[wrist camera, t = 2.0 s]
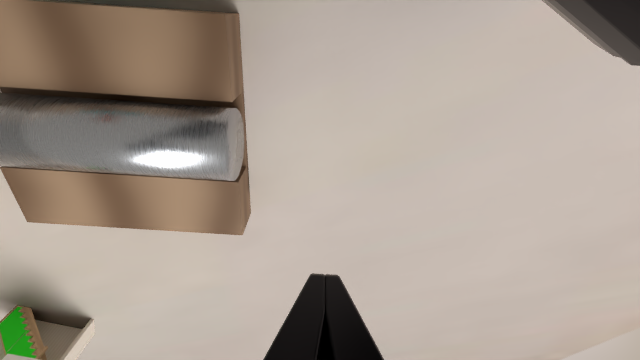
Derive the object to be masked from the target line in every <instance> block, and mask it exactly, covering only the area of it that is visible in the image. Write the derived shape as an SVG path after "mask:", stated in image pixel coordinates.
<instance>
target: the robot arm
mask: <svg viewBox="0 0 640 360" xmlns="http://www.w3.org/2000/svg"><path fill="white" fill-rule="evenodd" d="M542 1H543V2H545V3H546V4H547V5H548V6H549V7H551V8H552V9H553V10H554V11H555V12H557V13H558V14H559V15H560V16H561V17H563V18H564V19H565V20H566V21H567V22H569V23H570V24H571V25H572V26H573V27H575V28H576V29H577V30H578V31H579V32H581V33H582V34H583V35H584V36H585V37H587V38H588V39H589V40H590V41H591V42H593V43H594V44H595V45H597V46H599V47H600V48H602V49H603V50H605V51H606V52H608V53H609V54H611V55H613V56H616V57H620V58H622V59H623V60H625V61H626V62H627V63H628V64H630V65H638V66H640V0H542ZM263 360H384V359H383V357H382V355H381V353H380V351H379V349H378V347H377V346H376V344H375V342H374V340H373V338H372V336H371V334H370V333H369V331H368V329H367V327H366V325H365V323H364V321H363V320H362V318H361V316H360V314H359V312H358V310H357V308H356V306H355V305H354V303H353V301H352V299H351V297H350V295H349V293H348V292H347V290H346V288H345V286H344V284H343V282H342V280H341V278H340V277H339V276H338V275H329V274H326V275H324V274H311V275H310V276H309V278H308V280H307V282H306V283H305V285H304V287H303V289H302V291H301V292H300V294H299V296H298V298H297V300H296V301H295V303H294V305H293V307H292V309H291V310H290V312H289V314H288V316H287V318H286V320H285V321H284V323H283V325H282V327H281V329H280V330H279V332H278V334H277V336H276V338H275V339H274V341H273V343H272V345H271V347H270V349H269V350H268V352H267V354H266V356H265V358H264V359H263Z"/></svg>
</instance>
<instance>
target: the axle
mask: <svg viewBox="0 0 640 360" xmlns="http://www.w3.org/2000/svg"><path fill="white" fill-rule="evenodd" d="M243 154H244V127H243V120H242V116H241V114H240V111H239V110H238V109H237V108H225V107H210V106H195V105H180V104H165V103H149V102H134V101H119V100H104V99H89V98H74V97H59V96H44V95H29V94H14V93H0V166H5V167H21V168H37V169H53V170H68V171H84V172H100V173H116V174H132V175H147V176H163V177H179V178H195V179H211V180H226V181H235V180H236V179H237V177H238V176H239V173H240V170H241V166H242V162H243Z"/></svg>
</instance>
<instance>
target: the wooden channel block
mask: <svg viewBox="0 0 640 360" xmlns="http://www.w3.org/2000/svg"><path fill="white" fill-rule="evenodd" d="M0 89H1V91H2V93H14V94H29V95H44V96H59V97H74V98H89V99H104V100H119V101H134V102H149V103H165V104H180V105H195V106H210V107H225V108H237V109H238V110H239V111H240V114H241V116H242V120H243V127H244V154H243V162H242V166H241V170H240V173H239V176H238V177H237V179H236V180H235V181H226V180H211V179H195V178H179V177H163V176H147V175H132V174H116V173H100V172H84V171H68V170H53V169H37V168H21V167H5V166H2V167H0V169H1V170H2V172H3V174H4V176H5V178H6V180H7V182H8V184H9V186H10V188H11V190H12V192H13V194H14V196H15V198H16V200H17V202H18V204H19V206H20V208H21V210H22V212H23V214H24V216H25V218H26V220H27V222H35V223H51V224H67V225H84V226H100V227H116V228H133V229H149V230H165V231H182V232H198V233H214V234H231V235H243V233H244V230H245V227H246V225H247V222H248V219H249V216H250V214H251V209H250V192H249V175H248V158H247V141H246V124H245V107H244V90H243V74H242V57H241V40H240V23H239V14H237V13H223V12H209V11H195V10H181V9H166V8H152V7H138V6H124V5H110V4H95V3H81V2H67V1H53V0H0Z"/></svg>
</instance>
